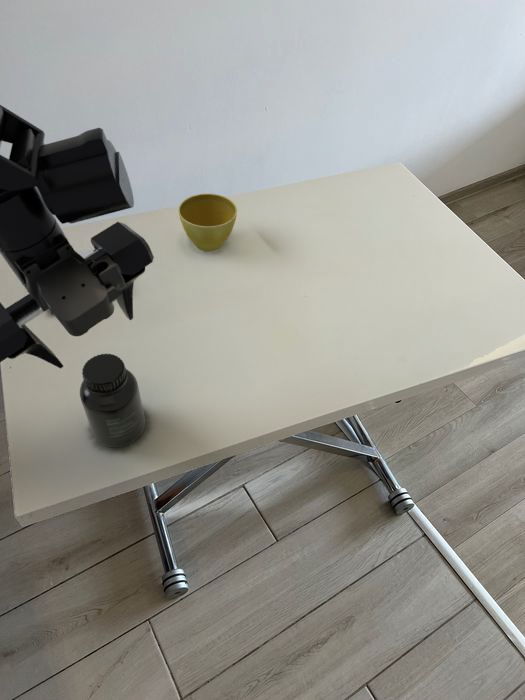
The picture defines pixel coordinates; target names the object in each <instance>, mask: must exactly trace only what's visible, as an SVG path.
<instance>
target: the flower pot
mask: <svg viewBox="0 0 525 700" xmlns="http://www.w3.org/2000/svg"><path fill="white" fill-rule="evenodd" d="M237 215H238V208H237V205H236V204H235V202H234V201H232V200H231V199H230V198H228V197H226V196H224V195H220V194H216V193H199V194H195V195H194V194H193V195H191V196H189V197H187V198H185V199H184V200H183V201H182V202H181V203H180V204H179V206H178V217H179V220H180V223H181V225H182V228H183V230H184V233H185V234H186V236H187V238H188V239H189V240H190V241H191V243H192V244H193V245H194V247H196V248H197V249H198V250H200V251H202V252H203V251H204V252H215V251H217V250H219V249H221V248H222V247H223V245H224V244H225V243H226V241H227V240H228V239H229V237H230V235H231V234H232V232H233V229H234V226H235V224H236V219H237Z"/></svg>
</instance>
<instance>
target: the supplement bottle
mask: <svg viewBox="0 0 525 700" xmlns="http://www.w3.org/2000/svg"><path fill="white" fill-rule="evenodd" d="M81 370H82V371H81V375H82V379H83V380H82V382H81V384H80V387H79V398H80V401H81V404H82V408H83V410H84V412H85V416H86V418H87V421H88V424H89V427H90V430H91V432H92V435H93V437H94V438H95V440H97V442H98V443H100V444H102V445H103V446H104V447H105V446H106V447H109V448H121V447H126V446H128V445H131V444H132V443H134V442H135V441H137V440H138V438H140V437H141V435H142V434H143V432H144V429H145V426H146V417H145V413H144V407H143V403H142V398H141V393H140V389H139V384H138V381H137V378H136V375H134V374H133V373H132V372H131V371H130V370H129V369H127V368H126V365H125V363H124V361H123V359H121V357H119V356H118V355H115V354H112V353H101V354H96V355H94V356H93V357H91V358H90V359H88V360H87V361H86V362H84V365H83V368H82V369H81Z"/></svg>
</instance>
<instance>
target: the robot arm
mask: <svg viewBox="0 0 525 700" xmlns="http://www.w3.org/2000/svg"><path fill="white" fill-rule="evenodd" d="M45 136H46V134H45V131H44V130H42V129H41V128H39V127H37V126H36V125H34V124H33V123H31V122H29V121H28V120H26V119H24V118H23V117H22V116H20V115H18V114H16V113H15V112H13V111H12V110H10V109H8V108H6V107H5V106H3V105H1V104H0V148H1V146H2V142H5V143H8V144H11V148H10V151H9V156H8V157H5V156H3V155H2V154H0V255H1V256H2V258H3V259H4V261H5V262H6V263H7V265H8V266H9V268H10V269H11V270H12V272H13V273H14V275H15V276H16V277H17V278H18V280H19V282H20V283H21V284H22V286H23V287H24V289H25V290H26V291H27V292H28V294H27V295H24V296H23V297H22V298H20V299H18V300H17V301H15V302H14V303H12V304H10V305H9V306H8V307H7V306H6V307H5V306H4V305H3V303H2V302H1V301H0V363H1V362H3V361H4V360H6V359H10V360H14V359H16V358H18V357H19V356H21V355H24V354H25V355H26V354H27V355H31V356H34V357H36V358H39V359H40V360H43V361H45V362H47V363H49V364H51V365H52V366H55V367H57V368H58V369H62V368H64V364H63V363H62V362H61V360H60V359H59V358H58V357H57V355H56V354H55V353H54V352H53V351H52V349H50V348H49V347H48V345H46V344H45V342H44V341H42V340H41V339H40V338H39V337H38V336H37V335H36V334H35V333H34V332H33V330H31V329H30V328H29V327H28V326H27V325H26V324H27V323H28V322H30V321H32V320H33V319H34V318H37V317H38V316H39V315H41V314H42V313H44V312H47V311H48V310H49V309H50V310H51V312H52V313H53V314H52V315H53V316H54V317H55V318H56V319H57V321H58V322H59V323H60V324H61V325H62V327H63V328H64V329H65V331H66V332H67V333H68V334H69V335H70V336H72V337H82V336H83V335H85V334H87V333H88V332H89V330H91V329H92V328H93V327H95V326H96V325H98V324H99V323H101V322H103V321H105V320H107V319H109V318H110V317H112V315H113V314H114V312H115V306H114V303H113V302H115V301H116V302H117V304H118V307H119V308H120V309H121V311H122V313H123V314H124V315H125V317H126V318H127V319H128V320H129V321H132V320H133V319H134V298H133V297H134V295H133V294H134V293H133V291H134V285H135V284H134V283H135V281H136V280H137V279H138V278H139V277H141V276H142V275H143V274H144V273H145V271H146V267H147V266H149V265H150V264H152V263H153V261H154V259H155V256H154V254H153V252H152V250H151V247H150V245H149V244H148V241H146V239H145V238H144V237H143V236H141V235H140V234H139V233H138V232H136V231H135V230H134V229H132V228H131V227H130V226H128V225H127V224H126V223H123V222H120V221H116V222H115V223H113V224H112V225H110V226H107V228H105V229H103V230H102V231H100V232H99V233H96V234H95V235H93V236H92V237H90V244H91V245H92V247H93V248H94V249H93V250H96V251H94V252H93V253H91V254H89V255H88V256H86V257H85V258H83V257H82V256H81V255H80V254H78V253H79V252H77V251H76V250H75V249H74V247H73V245H72V244H70V242H69V240H68V238H67V237H66V234H65V233H64V230H63V229H62V227H61V226H60V225H59V223H58V222H60V224H62V225H64V224H67V223H68V224H76V223H80V222H83V221H87V220H91V219H94V218H98V217H102V216H105V215H109V214H114V213H116V212H121V211H124V210H129V209H132V208H134V205H135V200H134V193H133V189H132V185H131V181H130V178H129V175H128V171H127V168H126V166H125V162H124V160H123V157H122V155H121V153H120V151H117V150H116V148H115V146H114V145H113V143H112V141H111V140H109V139H107V136H106V134H105V132H104V129H103V128H101V127H96V128H92V129H88V130H86V131H84V132H82V133H80V134H79V135H75V136H71V137H68V138H65V139H61V140H57V141H53V142H49V143H45ZM57 220H58V221H57ZM50 310H49V311H50ZM51 312H50V313H51Z"/></svg>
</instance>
